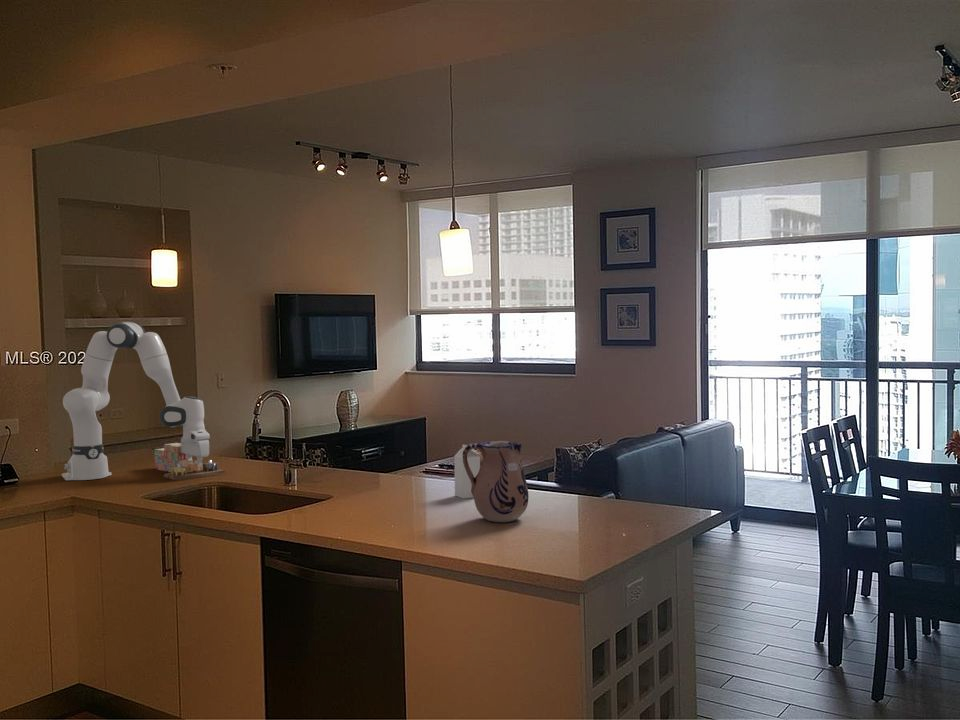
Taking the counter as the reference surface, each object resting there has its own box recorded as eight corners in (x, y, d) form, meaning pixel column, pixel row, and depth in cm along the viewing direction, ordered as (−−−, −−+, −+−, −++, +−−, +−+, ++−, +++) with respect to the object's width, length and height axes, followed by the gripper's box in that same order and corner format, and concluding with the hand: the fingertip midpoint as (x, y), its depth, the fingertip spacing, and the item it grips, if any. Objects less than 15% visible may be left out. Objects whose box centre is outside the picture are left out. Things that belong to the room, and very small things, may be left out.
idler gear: (184, 469, 365) (184, 462, 365) (198, 468, 370) (198, 461, 370) (191, 471, 361) (190, 464, 361) (205, 469, 365) (204, 462, 365)
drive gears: (168, 474, 361) (168, 463, 360) (213, 468, 375) (213, 458, 374) (175, 476, 356) (175, 465, 356) (220, 470, 370) (220, 459, 370)
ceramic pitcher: (532, 525, 266) (531, 445, 265) (465, 527, 264) (464, 447, 263) (524, 513, 283) (524, 438, 282) (462, 515, 282) (461, 440, 281)
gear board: (164, 477, 362) (163, 462, 362) (212, 470, 377) (212, 456, 377) (176, 480, 353) (176, 465, 353) (225, 474, 369) (225, 459, 368)
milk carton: (463, 499, 308) (462, 447, 307) (454, 495, 314) (454, 445, 314) (480, 497, 311) (479, 445, 311) (471, 494, 318) (471, 443, 317)
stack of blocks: (154, 469, 384) (153, 442, 384) (167, 467, 389) (166, 440, 389) (178, 474, 370) (177, 446, 370) (191, 472, 375) (191, 444, 375)
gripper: (176, 432, 370) (177, 464, 371) (197, 436, 355) (198, 469, 356) (190, 431, 374) (190, 462, 375) (211, 435, 360) (212, 467, 360)
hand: (194, 465), depth 365 cm, fingers closed on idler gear, 6 cm apart
